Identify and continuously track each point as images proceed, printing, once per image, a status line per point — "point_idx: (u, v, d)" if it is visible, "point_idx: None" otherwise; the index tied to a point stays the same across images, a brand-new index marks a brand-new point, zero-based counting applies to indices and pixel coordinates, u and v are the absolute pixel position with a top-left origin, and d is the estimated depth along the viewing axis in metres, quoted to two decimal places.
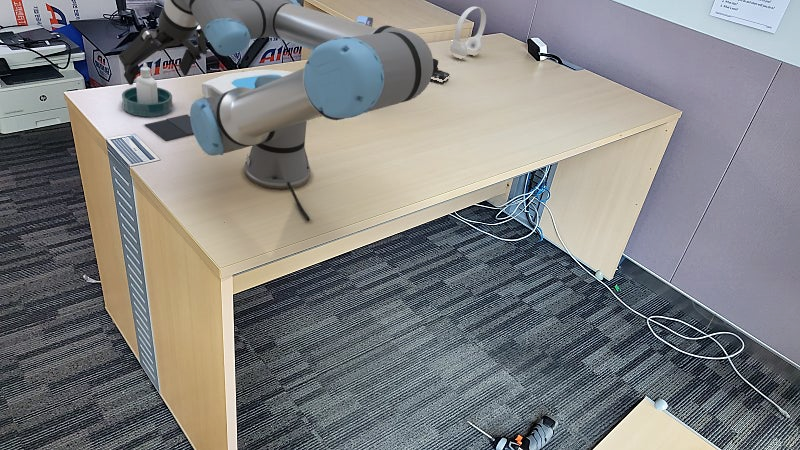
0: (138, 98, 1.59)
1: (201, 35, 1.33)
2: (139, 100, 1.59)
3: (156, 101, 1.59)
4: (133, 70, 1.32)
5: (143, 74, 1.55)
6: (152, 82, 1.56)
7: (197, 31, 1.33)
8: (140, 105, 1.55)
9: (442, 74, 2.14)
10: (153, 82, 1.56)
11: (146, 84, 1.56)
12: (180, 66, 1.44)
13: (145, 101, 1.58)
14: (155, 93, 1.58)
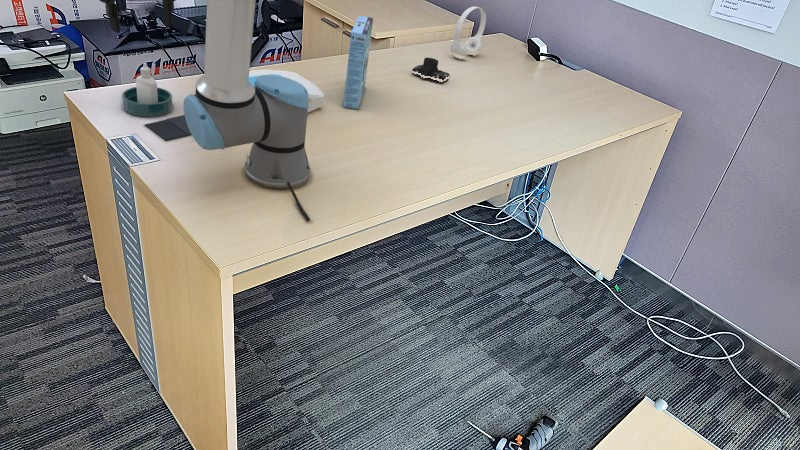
0: (138, 98, 1.59)
1: None
2: (139, 100, 1.59)
3: (156, 101, 1.59)
4: (113, 11, 1.41)
5: (143, 74, 1.55)
6: (152, 82, 1.56)
7: None
8: (140, 105, 1.55)
9: (442, 74, 2.14)
10: (153, 82, 1.56)
11: (146, 84, 1.56)
12: (164, 21, 1.54)
13: (145, 101, 1.58)
14: (155, 93, 1.58)
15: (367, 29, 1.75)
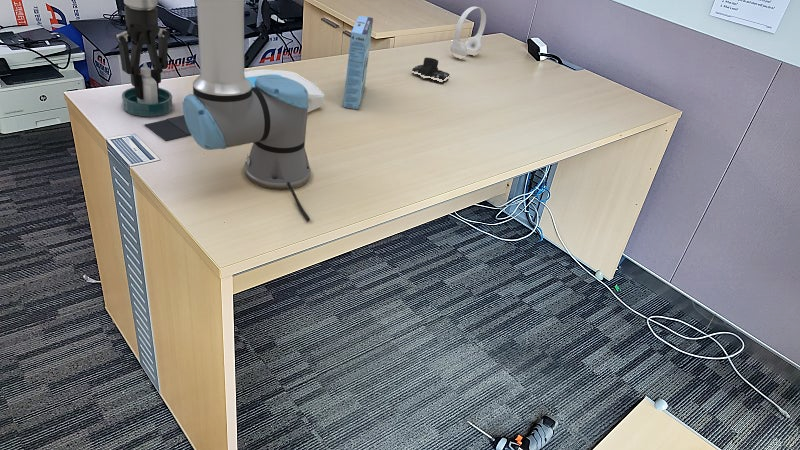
0: (138, 98, 1.59)
1: (165, 37, 1.54)
2: (139, 100, 1.59)
3: (156, 101, 1.59)
4: (138, 81, 1.55)
5: (143, 74, 1.55)
6: (152, 82, 1.56)
7: (162, 32, 1.54)
8: (140, 105, 1.55)
9: (442, 74, 2.14)
10: (153, 82, 1.56)
11: (146, 84, 1.56)
12: None
13: (145, 101, 1.58)
14: (155, 93, 1.58)
15: (367, 29, 1.75)
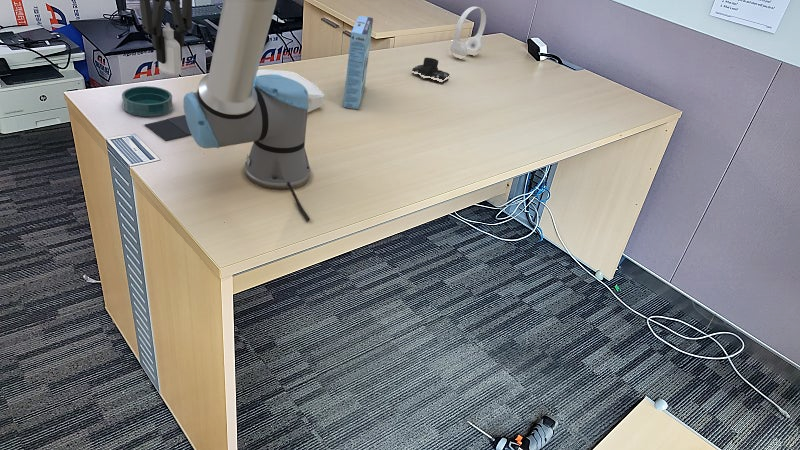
0: (159, 63, 1.46)
1: None
2: (160, 65, 1.46)
3: (179, 66, 1.46)
4: (160, 43, 1.41)
5: (165, 35, 1.42)
6: (176, 44, 1.43)
7: None
8: (140, 105, 1.55)
9: (442, 74, 2.14)
10: (176, 44, 1.43)
11: (169, 46, 1.42)
12: None
13: (167, 66, 1.45)
14: (178, 57, 1.44)
15: (367, 29, 1.75)
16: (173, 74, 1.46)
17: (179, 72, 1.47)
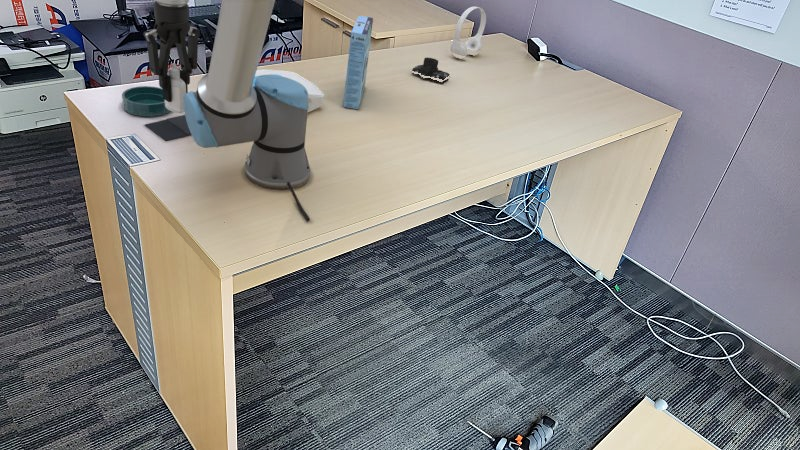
0: (165, 100, 1.50)
1: (196, 35, 1.45)
2: (167, 103, 1.50)
3: None
4: (166, 82, 1.45)
5: (172, 75, 1.46)
6: (182, 83, 1.47)
7: (192, 31, 1.44)
8: (140, 105, 1.55)
9: (442, 74, 2.14)
10: (182, 84, 1.47)
11: (175, 86, 1.46)
12: None
13: (173, 104, 1.49)
14: None
15: (367, 29, 1.75)
16: (178, 112, 1.50)
17: None
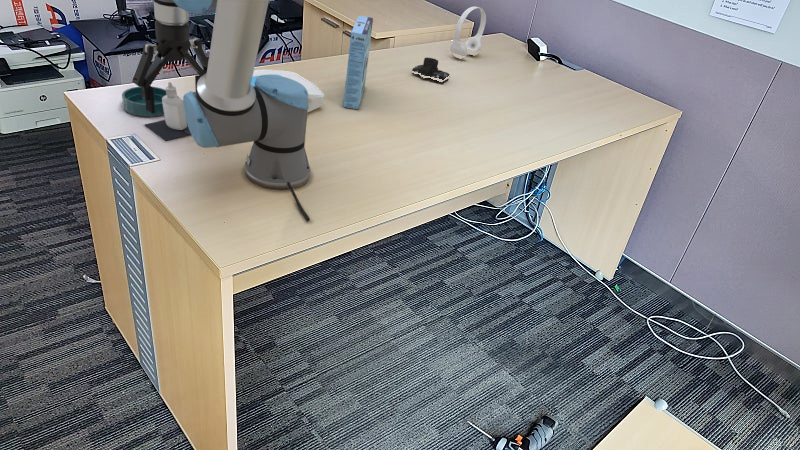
0: (166, 118, 1.52)
1: (199, 46, 1.47)
2: (167, 120, 1.52)
3: (184, 120, 1.52)
4: (149, 94, 1.43)
5: (169, 94, 1.48)
6: (179, 102, 1.49)
7: (194, 43, 1.46)
8: (140, 105, 1.55)
9: (442, 74, 2.14)
10: (179, 102, 1.49)
11: (173, 105, 1.48)
12: None
13: (173, 122, 1.51)
14: (183, 112, 1.51)
15: (367, 29, 1.75)
16: (179, 129, 1.52)
17: (185, 126, 1.53)
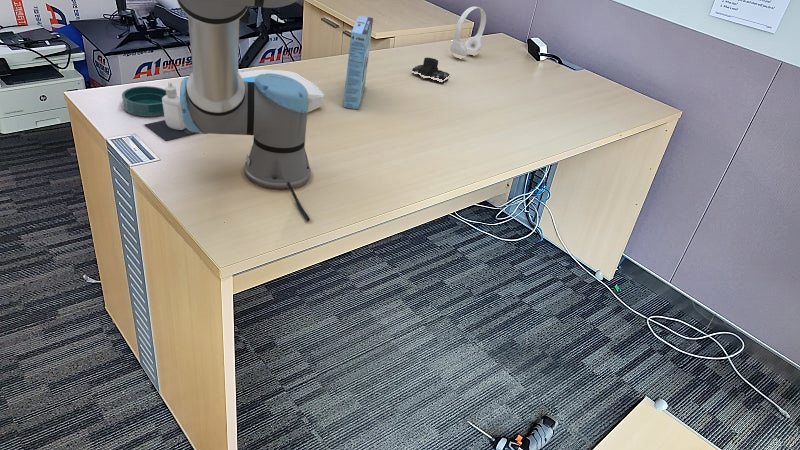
0: (166, 118, 1.52)
1: None
2: (167, 120, 1.52)
3: None
4: None
5: (169, 94, 1.48)
6: (179, 102, 1.49)
7: None
8: (140, 105, 1.55)
9: (442, 74, 2.14)
10: (179, 102, 1.49)
11: (173, 105, 1.48)
12: (240, 18, 1.49)
13: (173, 122, 1.51)
14: None
15: (367, 29, 1.75)
16: (179, 129, 1.52)
17: (185, 126, 1.53)
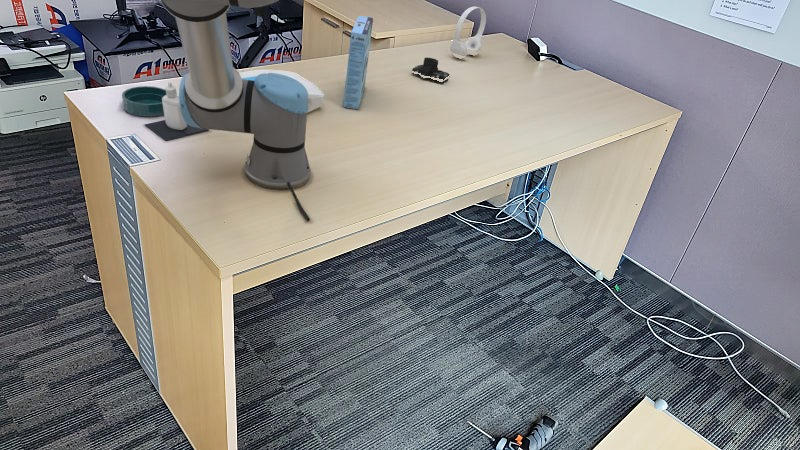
0: (166, 118, 1.52)
1: None
2: (167, 120, 1.52)
3: None
4: None
5: (169, 94, 1.48)
6: None
7: None
8: (140, 105, 1.55)
9: (442, 74, 2.14)
10: None
11: (173, 105, 1.48)
12: (255, 11, 1.49)
13: (173, 122, 1.51)
14: None
15: (367, 29, 1.75)
16: (179, 129, 1.52)
17: (185, 126, 1.53)
